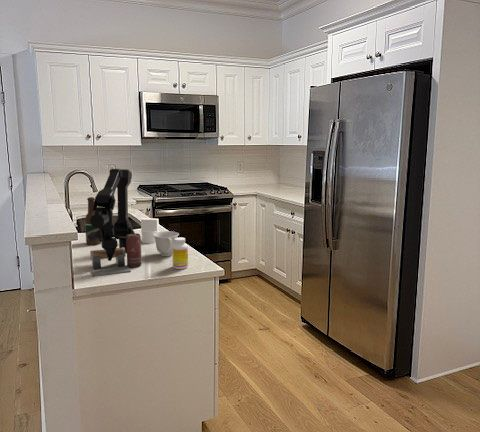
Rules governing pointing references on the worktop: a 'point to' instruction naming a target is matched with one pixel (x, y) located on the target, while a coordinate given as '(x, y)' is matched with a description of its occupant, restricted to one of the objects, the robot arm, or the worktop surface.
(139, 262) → the can
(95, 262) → the post
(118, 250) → the rail
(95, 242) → the beer bottle
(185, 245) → the supplement bottle
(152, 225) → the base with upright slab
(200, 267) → the worktop surface
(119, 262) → the post
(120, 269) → the mat
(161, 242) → the teacup
